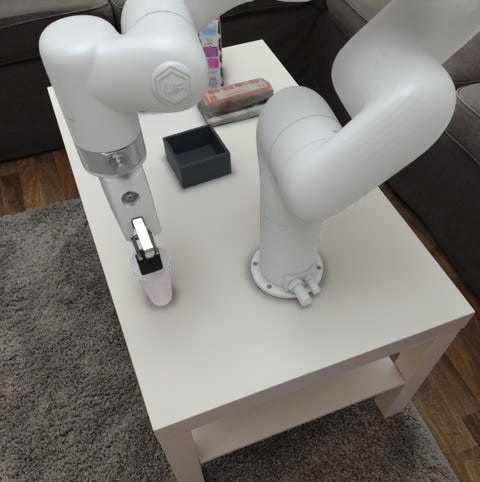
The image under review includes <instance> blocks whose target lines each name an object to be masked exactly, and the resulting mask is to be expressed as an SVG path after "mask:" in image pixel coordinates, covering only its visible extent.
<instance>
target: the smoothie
mask: <svg viewBox="0 0 480 482" xmlns="http://www.w3.org/2000/svg"><path fill="white" fill-rule="evenodd" d="M156 247H158V249H159V253H160V256H161V260H162V264H163V269H161V270H158V271H156V272H153V273H150V274H147V275H141V272H140V269H139V266H138V263H137V260H136V257H135V255H136V251H135V252H134V253H133V254H132V255H131V257H130V259H129V268H130V272H131V274H132V275H133V277H134V278H136V279H137V280H138V282H139V283H140V285H141V287H142V288H143V290H144V291H145V293H146V295H147V296H148V298H149V299H150V301H151V303H152V304H154V305H155V306H158V307H164V306H166V305H168V304H169V303H170V302H171V301H172V300H173V285H172V275H171V268H172V263H173V262H172V258H171V255H170V253H169V252H168V251H167V249H165V248H164V247H161V246H158V245H156ZM139 250H142V247H141V248H139Z"/></svg>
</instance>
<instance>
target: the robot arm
mask: <svg viewBox="0 0 480 482" xmlns="http://www.w3.org/2000/svg"><path fill="white" fill-rule="evenodd" d="M253 1H254V0H125V2H124V5H123V7H122V11H121V16H120V28H121V29H120V30H121V33H119V32H118V31H117V29H116V28H115V27H114V25H112V24H111V23H110V22H109V21H108V20H106V19H103V18H102V17H99V16H95V15H89V14H88V15H87V14H80V15H78V14H77V15H72V16H66V17H63V18H60V19H57V20H55V21H53V22H51V23H50V24H49V25H47V26H46V27H45V28H44V30H43V31H42V32H41V34H40V36H39V39H38V51H39V55H40V59H41V61H42V65H43V67H44V69H45V72H46V75H47V77H48V80H49V82H50V85H51V87H52V90H53V92H54V95H55V97H56V101H57V102H58V105H59V107H60V110H61V113H62V116H63V118H64V121H65V124H66V126H67V129H68V131H69V133H70V137H71V139H72V141H73V144H74V147H75V150H76V152H77V154H78V157H79V160H80V163H81V165H82V167H83V169H84V171H86V173H88V174H89V175H91V176H93V177H96V178H98V180H99V183H100V186H101V188H102V191H103V194H104V196H105V198H106V201H107V203H108V206H109V208H110V210H111V212H112V214H113V216H114V218H115V220H116V222H117V225H118V226H119V228H120V231H121V232H122V234H123V237H124V238H125V240H126V242H129V243H132V246H133V249H134V251H135V252H136V255H135V257H136V260H137V263H138V266H139V269H140V272H141V275H147V274H150V273H153V272H156V271H158V270H161V269H163V264H162V260H161V256H160V253H159V249H158V247H156V246H157V243H156V241H155V239H154V236H156V235H158V234H161V232H162V225H161V222H160V219H159V216H158V212H157V209H156V205H155V201H154V198H153V195H152V191H151V188H150V184H149V181H148V179H147V174H146V172H145V169H144V167H143V166H144V163H145V162H146V160H147V155H148V153H147V148H146V143H145V139H144V135H143V134H144V133H143V131H142V130H143V129H142V126H141V122H140V121H141V120H140V117H139V112H137V111H143V112H144V113H145V112H147V113H159V114H173V113H179V112H184V111H187V110H190V109H192V108H194V107H195V106H197V104H198V103H199V102H200V101H201V100H202V98H203V97H204V95H205V93H206V91H207V89H208V85H209V78H210V74H209V66H208V61H207V58H206V55H205V52H204V50H203V47H202V45H201V42H200V39H199V33H200V32H201V31H202V30H203V29H204V28H205V27H207V26H208V25H209V24H210V23H211V22H212V21H214V20H215V19H216V18H218V17H219V16H222V15H223V14H225V13H227V12H228V11H230V10H232V9H233V8H235V7H238V6H240V5H243V4H246V3H249V2H253ZM277 1H279V2H286V3H287V2H288V3H303V2H304V3H305V2H309V1H311V0H277ZM479 32H480V0H390V1H389V2H388V4H386V6H384V7H383V8H382V9H381V10H380V11H378V13H377V14H375V15H374V17H373V18H371V19H370V20H369V21H368V22H367V23H366V24H365V25H364V26H362V27H361V28H360V29H359V30H358V31H357V32H356V33H355V34H354V35H353V36H352V37H351V38H350V39H349V40H348V41H347V42H346V43H345V44H344V45H343V47H342V48H341V49H340V50H339V51H338V53H337V55H336V56H335V58H334V61H333V63H332V66H331V81H332V86H333V89H334V90H335V93H336V95H337V96H338V99H339V100H340V102H341V104H342V105H343V107H344V108H345V110H346V112H347V114H348V115H349V116H350V118H351V119H350V121H348V122H347V123H346V124H345V125H344V126H342V125H341V123H340V121H339V120H338V118H337V116H336V115H335V113H334V111H333V109H332V108H331V106H330V105H329V104H328V102H327V101H326V100H325V99H324V98H323V97H322V96H321V95H320V94H319V93H318V92H316V91H315V90H313V89H311V88H310V87H306V86H302V85H290V86H287V87H284V88H281V89H279V90H278V91H277V92H275V93H273V94H274V95H272V96H271V97H270V98H269V99H268V101H267V102H266V103H265V105H264V106H263V108H262V110H261V112H260V115H258V119H257V122H256V123H257V124H256V129H255V130H256V131H255V138H256V139H255V143H256V153H257V162H258V163H257V164H258V172H259V184H260V185H259V194H260V196H259V198H260V199H259V248H258V249H257V250H256V251H255V253H254V254H253V256H252V259H251V263H250V274H251V277H252V279H253V282H254V283H255V284H256V286H257V287H258V288H259V289H260V290H261V291H263V292H264V293H266V294H267V295H270V296H272V297H274V298H280V299H296V298H297V299H296V300H298V302H299V304H300V305H301V306H302V307H307V306H308V305H311V303H312V302H313V298H312V297H311V294H309V293H311V292H312V294H313V295H317V294H319V293H320V292H321V288H320V286H319V284H320V282H321V281H322V277H323V274H324V273H323V272H324V263H323V261H322V257H321V256H320V254H319V252H318V250H319V243H320V240H321V239H320V238H321V233H322V228H323V227H322V226H323V222H324V220H326V219H329V218H331V217H334V216H335V215H338V214H339V213H342V212H344V211H345V210H347V209H348V208H350V207H351V206H352V205H354V204H356V203H357V202H359V200H361V199H363V198H364V197H365V196H367V195H368V194H369V193H371V192H372V191H373V190H375V189H376V188H378V187H379V186H381V185H382V184H384V183H385V182H386V181H388V180H389V179H390V178H392V177H393V176H394V175H396V174H397V173H399V172H400V171H402V170H403V169H404V168H406V167H407V166H409V165H410V164H411V163H412V162H414V161H415V160H417V159H418V158H419V157H420V156H421V155H423V154H424V153H425V152H427V151H428V150H429V149H430V148H431V147H432V146H433V145H434V144H435V143H436V142H437V141H438V139H440V137H441V136H442V135H443V132H444V131H445V130H446V128H447V127H448V125H449V124H450V122H451V121H452V118H453V115H454V112H455V109H456V105H457V90H456V86H455V83H454V82H453V81H454V80H453V79H452V77H451V75H450V74H449V72H448V71H447V70H446V68H445V67H444V66H443V64H444V63H446V62H447V60H449V59H451V57H452V56H453V55H455V53H457V52H458V51H459V50H461V48H463V47H464V46H465V45H466V44H467V43H468V42H469V41H470V40H472V39H473V38H474V37H475V36H476V35H477V34H478V33H479ZM134 233H136V234H134ZM138 241H139V243H140V245H141V248H142V250H139V249H140V247H139V245H138Z"/></svg>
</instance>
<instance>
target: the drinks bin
mask: <svg viewBox="0 0 480 482" xmlns="http://www.w3.org/2000/svg"><path fill="white" fill-rule="evenodd" d="M161 139H162V143H163V148H164V153H165V158H166V160H167V162H168V164H169V165H170V167H171V169H172V170H173V172H174V174H175V177H176V178H177V180H178V182H179V183H180V185H181V187H182V189H183V190H184V189H187V188H192V187H195V186H198V185H200V184H204V183H206V182H211V181H212V180H216V179H219V178H221V177H225V176H227V175H230V174H232V161H231V160H232V159H231V152H230V150H229V149H228V147H227V146H226V144H225V143H224V141H223V140H222V138H221V137H220V135H219V134H218V132H217V131H216V130H215V127H214V126H213V127H212V125H211V124H208V123H206V124H203V125H200V126H197V127H194V128H190V129H187V130H183V131H180V132H176V133H173V134H170V135H167V136H163V137H162V138H161Z"/></svg>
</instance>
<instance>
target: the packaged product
mask: <svg viewBox="0 0 480 482" xmlns="http://www.w3.org/2000/svg"><path fill="white" fill-rule="evenodd" d="M274 92H275V89H274V87H273V86H272V85H271V82H270V81H268V80H266V79H265V78H262V77H258V78H252V79H248V80H244V81H241V82H240V81H239V82H236V83H230V84H228V85H227V84H226V85H223V86H222V87H218V88H214V89H209V90H207V91H206V93H205V95H204V97H203V98H202V100H201V101H200V102H199V103H198V104H196V106H197V107H198V109H199V111H200V113H201V115H202V116H203V118H204V120H205V121H206V124H211V125H212V127H213V128H214V127H217V126H220V125H224V124H228V123H233V122H238V121H243V120H247V119H251V118H254V117H256V116H259V115H260V112H261V110H262V108H263V106H264V105H265V103H266V102H267V101H268V99H269V98H270V97H271V96H272V95H274V94H275V93H274Z"/></svg>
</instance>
